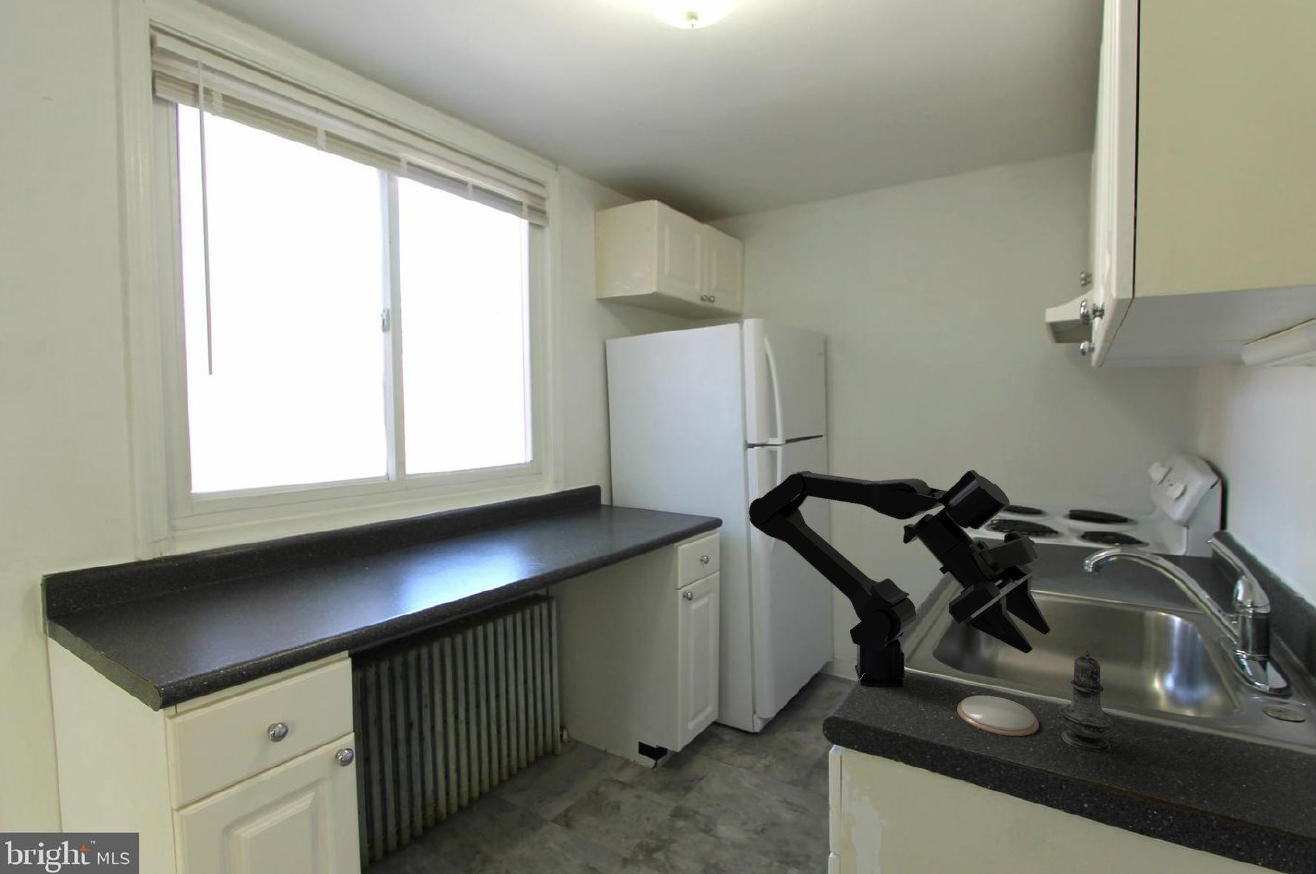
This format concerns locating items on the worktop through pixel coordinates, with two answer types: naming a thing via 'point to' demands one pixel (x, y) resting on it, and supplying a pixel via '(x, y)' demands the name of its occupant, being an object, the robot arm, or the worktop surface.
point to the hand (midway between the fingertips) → (1039, 641)
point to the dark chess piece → (1086, 709)
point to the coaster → (998, 715)
